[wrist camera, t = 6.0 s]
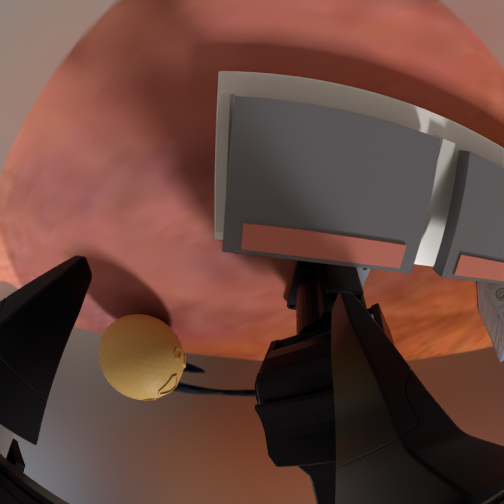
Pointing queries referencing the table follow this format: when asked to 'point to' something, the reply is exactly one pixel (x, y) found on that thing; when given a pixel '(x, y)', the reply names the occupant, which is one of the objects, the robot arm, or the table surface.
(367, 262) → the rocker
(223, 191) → the light switch base
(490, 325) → the medicine box
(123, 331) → the stress ball
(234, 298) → the table surface
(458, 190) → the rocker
